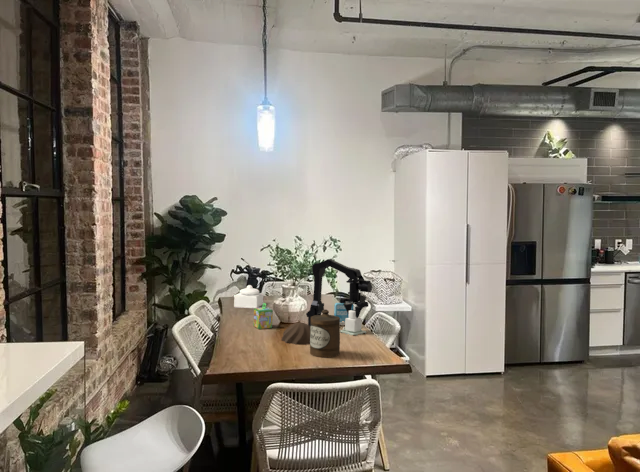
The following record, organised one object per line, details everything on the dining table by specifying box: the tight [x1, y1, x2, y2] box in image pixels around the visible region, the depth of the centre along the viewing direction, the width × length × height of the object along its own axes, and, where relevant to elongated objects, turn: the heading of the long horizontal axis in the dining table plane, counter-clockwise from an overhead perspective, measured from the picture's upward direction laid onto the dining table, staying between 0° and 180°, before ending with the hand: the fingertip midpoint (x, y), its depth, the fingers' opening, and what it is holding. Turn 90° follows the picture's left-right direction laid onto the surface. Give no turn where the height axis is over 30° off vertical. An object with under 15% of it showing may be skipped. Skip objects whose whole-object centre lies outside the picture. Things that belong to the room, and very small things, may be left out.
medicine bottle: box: [344, 309, 363, 332], centre depth 290 cm, size 7×7×12 cm
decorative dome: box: [281, 321, 311, 345], centre depth 271 cm, size 19×20×10 cm
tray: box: [340, 329, 367, 336], centre depth 290 cm, size 11×11×1 cm
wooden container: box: [309, 309, 341, 358], centre depth 244 cm, size 15×15×22 cm
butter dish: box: [233, 284, 264, 309], centre depth 371 cm, size 18×18×16 cm
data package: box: [333, 302, 355, 322], centre depth 322 cm, size 12×4×12 cm, turn 101°
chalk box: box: [253, 302, 274, 330], centre depth 299 cm, size 9×9×15 cm
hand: (353, 316), depth 290 cm, fingers closed on medicine bottle, 6 cm apart
